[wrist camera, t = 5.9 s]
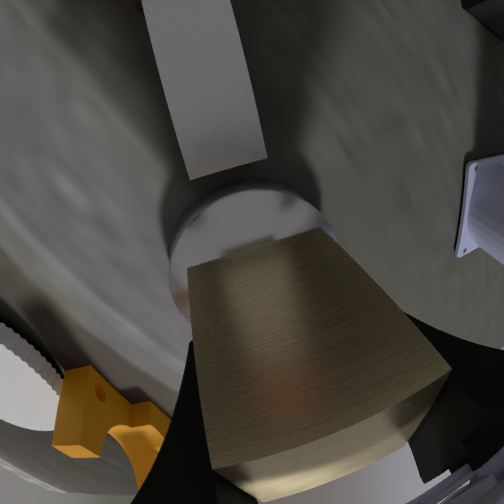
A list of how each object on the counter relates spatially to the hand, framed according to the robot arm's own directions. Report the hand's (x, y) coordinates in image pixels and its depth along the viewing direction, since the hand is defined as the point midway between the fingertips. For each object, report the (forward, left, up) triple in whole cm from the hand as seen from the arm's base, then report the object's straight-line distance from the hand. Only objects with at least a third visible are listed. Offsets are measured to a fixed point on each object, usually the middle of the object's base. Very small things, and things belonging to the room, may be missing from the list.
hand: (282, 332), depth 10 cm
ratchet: (0, -8, -6) cm, 10 cm away
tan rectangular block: (0, 0, -2) cm, 2 cm away
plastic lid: (+22, +3, -6) cm, 23 cm away
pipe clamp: (+13, +11, -6) cm, 18 cm away
